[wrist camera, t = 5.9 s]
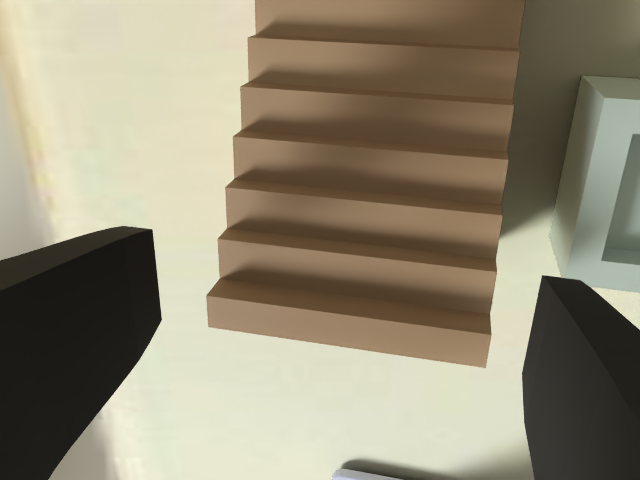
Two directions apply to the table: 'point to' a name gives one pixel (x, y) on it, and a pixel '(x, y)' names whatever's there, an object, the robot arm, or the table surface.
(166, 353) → the table surface
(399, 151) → the staircase
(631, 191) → the hollow square container
